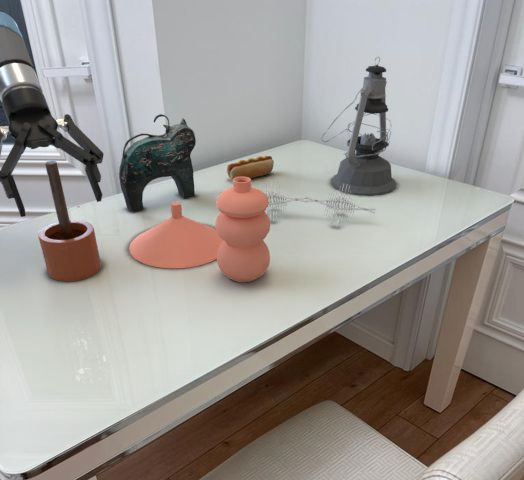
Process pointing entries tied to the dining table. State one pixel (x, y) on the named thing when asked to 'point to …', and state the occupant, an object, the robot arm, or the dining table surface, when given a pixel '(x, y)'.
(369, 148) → the lantern
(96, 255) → the jar
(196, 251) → the ceramic vessels
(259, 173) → the food
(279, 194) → the test tube brush
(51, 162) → the pestle
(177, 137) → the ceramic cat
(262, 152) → the dining table surface
